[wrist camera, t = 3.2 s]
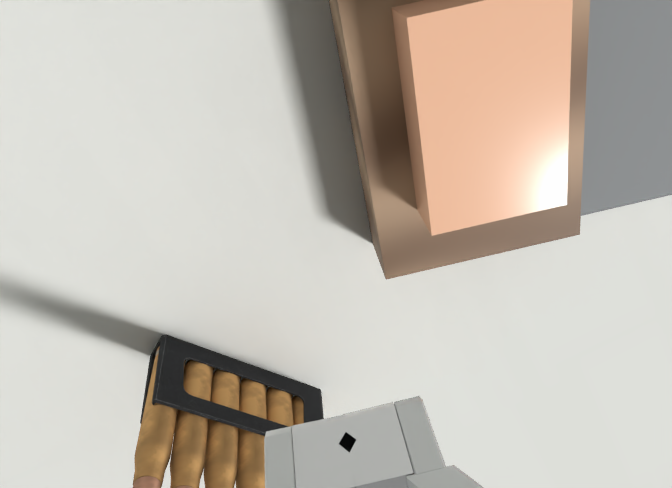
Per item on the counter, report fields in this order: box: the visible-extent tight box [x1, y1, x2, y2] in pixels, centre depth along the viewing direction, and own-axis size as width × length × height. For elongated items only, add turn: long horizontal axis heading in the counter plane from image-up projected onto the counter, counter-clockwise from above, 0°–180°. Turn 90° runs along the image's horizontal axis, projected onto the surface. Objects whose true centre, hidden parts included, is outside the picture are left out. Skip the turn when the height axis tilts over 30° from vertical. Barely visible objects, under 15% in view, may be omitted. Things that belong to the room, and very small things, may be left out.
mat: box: [581, 0, 672, 216], centre depth 27 cm, size 18×11×1 cm, turn 11°
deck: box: [329, 0, 590, 279], centre depth 26 cm, size 16×10×4 cm, turn 11°
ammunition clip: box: [133, 335, 324, 488], centre depth 30 cm, size 11×2×12 cm, turn 58°
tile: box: [391, 0, 573, 236], centre depth 23 cm, size 9×6×2 cm, turn 11°
